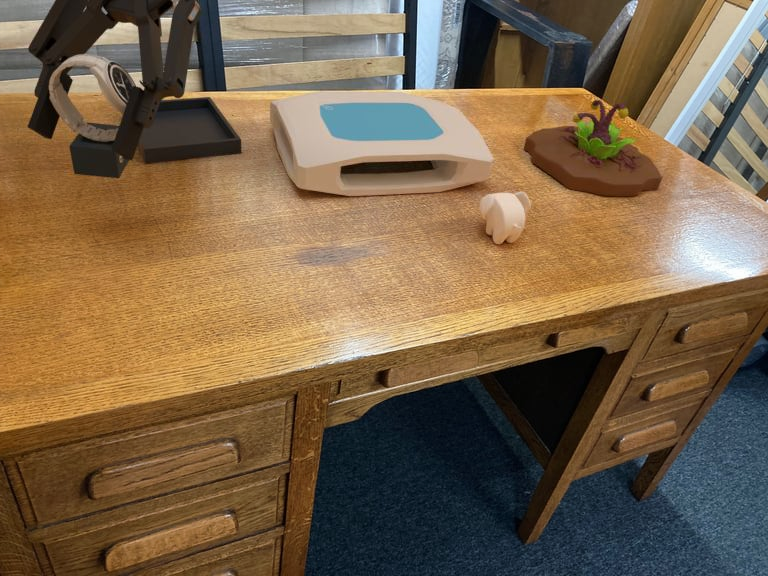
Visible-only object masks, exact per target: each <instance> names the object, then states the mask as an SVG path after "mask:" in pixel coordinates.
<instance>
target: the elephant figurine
mask: <svg viewBox="0 0 768 576" xmlns="http://www.w3.org/2000/svg"><path fill="white" fill-rule="evenodd" d="M531 208H532V203H531V200H530V198H529V195H528V194H526V192H524V191H522V190H521V191H517V192H516V193H511V192H494V193H487V194H486V195H484V196H483V197H482V198H481V199H480V202H479V207H478V209H479V213H480V216H481V217H482V219H485V218H486V224H485V225H486V226H485V233H486V235H488V236H492V241H493V243H494V244H496V245H501V244H503V243H504V241H506V242H507V243H508V244H513V243H515V242H516V241H517V240H518V239H519V237H520V236H521V234H522V233H523V231H524V228H525V226H526V225H525V224H526V215H527V214H528V213H529V212H530V211H531Z"/></svg>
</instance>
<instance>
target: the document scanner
mask: <svg viewBox="0 0 768 576" xmlns="http://www.w3.org/2000/svg"><path fill="white" fill-rule="evenodd" d="M269 103H270V104H269V123H270V124H271V127H272V130H273V133H274V137H275V141H276V142H275V143H276V149H277V152H278V154H279V156H280V159H281V161H282V164H283V166H284V170H285V172H286V174H287V176H288V177H289V178H290V180H291V181H292V183H294V185H295V186H296V187H297V188H299V189H301V190H306V191H312V192H320V193H328V194H334V195H341V196H347V197H358V196H360V197H362V196H383V195H386V196H387V195H401V194H403V195H405V194H424V193H427V194H428V193H441V192H446V191H449V190H454V189H458V188H461V187H466V186H469V185H474V184H478V183H481V182H485V181H488V180H489V179H490V176H491V174H492V169H493V165H494V162H495V158H494V156H493V155H492V152H491V151H490V149H489V147H488V145H487V143H486V141H485V139H484V138H483V137H484V136H483V135H482V134H481V132H480V130H479V129H477V127H475V125H473V124H472V122H471V121H470V120H469V119H468V118H467V117H466V116H465V115H464V114H463V113H462V112H461V111H460V110H459V109H458V107H455V106H452V105H450V104H447V103H445V102H443V101H440V100H437V99H434V98H429V97H425V96H421V95H416V94H412V93H409V92H403V91H345V90H344V91H342V90H341V91H339V90H337V91H336V90H335V91H334V90H333V91H328V90H323V91H322V90H321V91H319V90H318V91H313V92H308V93H303V94H297V95H294V96H293V95H292V96H289V97H285V98H279V99H274V100H272V101H270V102H269ZM413 161H414V162H418V161H419V162H420V161H430V162H431V164H432V167H433V168H432V169H426V170H425V169H424V170H417V171H416V170H415V171H406V172H386V173H385V172H383V173H343V172H342V173H341V171H342V167H344V166H349V165H350V166H351V165H357V164H362V163H382V162H383V163H385V162H413Z"/></svg>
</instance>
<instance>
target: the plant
mask: <svg viewBox="0 0 768 576" xmlns="http://www.w3.org/2000/svg"><path fill="white" fill-rule="evenodd" d="M590 108H591V110H597V109H600V110H599V112H600V115H599V119H597V117H596V116H595V114H593V113H589V112H580V113H579V112H578V113H576V114H574V115H573V117H572V122H573V123H576V125H577V126H574V125H563V126H561V125H560V126H557V127H551V128H550V127H549V128H541V129H539V130H535V131H533V132H532V133H531V134H530V135H528V136H526V139H525V141H524V145H523V150H524V149H525V150H524V151H525V152H527V153H529V154H530V155H531V158H530V161H531V163H532V164H533V165H534V166H537V167H538V168H539V169H541V170H542V171H544V172H545V173H546V174H549V175H550V176H551V177H552V178H554V179H555V180H557V182H559V183H561V184H562V185H563V186H565V187H566V188H567V189H569V190H572V191H578V192H585V193H590V194H594V195H598V196H603V197H636V196H638V195H639V194H640V193H641V192H645V191H644V190H646V191H650V190H649V189H657V188H658V189H659V188H660V185H661V182H662V181H663V176H662V175H661V173H660V170H659V169H658V167H657V166H656V164H655V163H654V161H653V160H652V159H651V157H649V156H648V155H646V154H644V153H642V152H640V151H639V148H638V147H637V146H634V145H633V144H632V143H635V142H636V138H631V137H627V138H622V137H619V135H620V134H621V132H622V128H620V127H617V128H616V125H615V123H613V122H612V121H613V116H614V115H615V114H616V112H618V113H617V114H618V116H619V118H621V119H624V120H625V119H626V118H627V117H628V116H629V109H628V107H627V106H626V105H625V104H623V103H621V102H620V103H616V104H614V105H613V106H612V107H611V109H609V110H608V112H607V113H606V107H605V105H604V103H603V102H602V100H600V99H595V100H593V101H592V102H591V103H590ZM617 110H618V111H617ZM584 118H590V121H589V125H587V123H586V122H584V120H583V119H584ZM658 189H657V190H658Z"/></svg>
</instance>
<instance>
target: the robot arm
mask: <svg viewBox="0 0 768 576" xmlns="http://www.w3.org/2000/svg"><path fill="white" fill-rule="evenodd" d="M103 9H104V11H103ZM171 9H172V12H173V13H172V17H171V22H170V28H169V33H168V34H169V35H168V40H167V41H168V42H167V47H166V54H165V61H163V50H162V40H161V39H162V36H163V31H162V30H163V29H162V22H161V21H162V19H161V17H162V16H163V15H165V14H166V13H167V12H169V11H170V10H171ZM105 12H106V13H105ZM202 14H203V9H202V8H201V7H200V4H199V3H198V2H197V0H54V2H53V4H52V6H51V8H50V9H49V11H48V13H47V14H46V15H45V18H44V19H43V21H42V23H41V25H40V26H39V28H38V30H37V32H36V33H35V35H34V37H33V38H32V40H31V41H30V44H29V45H28V47H27V49H28V50H27V51H28V52H29V54H31V55H32V56H33V57H35V58H36V59H37V60H39V61H40V62H41V63H42V69H41V71H40V74H39V76H38V80H37V82H36V85H35V86H34V87H35V88H34V91H33V92H34V93H33V94H34V96H35V97H36V98H37V100H36V102H35V105H34V107H33V110H32V114H31V116H30V119H29V121H28V124H27V128H28V129H30V130H32V131H33V132H35V133H36V134H38V135H39V136H40V137H42V138H44V139H49V140H52V138H53V137H54V134H55V130H56V127H57V125H58V122H59V121H60V118H61V117H60V116H59V114H58V113H57V111H56V109H55V108H54V106H53V104H52V102H51V100H50V91H49V84H50V83H49V81H50V78H51V76H52V74H53V72H54V71H55V70H56V69H57V68H58V67H59V66H60V65H61V64H62V63H63V62H65V61H66V60H67V59H68V58H70V57H73V56H75V55H79V54H81V55H82V54H87V53H88V52H89V50H90V49H91V48H92V47H93V46H94V44H95V43H96V42H97V41H98V40H99V39H100V38H101V37H102V36H103V35H104V33H105V32H106V31H107V30H112V29H114V28H115V27H116V26H117V25H118V23H121V24H132V25H133V26H136V27H137V32H138V33H137V34H138V43H139V44H138V46H139V57H140V65H141V78H142V79H141V80H139V84H140V85H141V86H142V87H143V89H142V87H140V86H137V85H136V86H133V88H132V91H131V94H130V97H129V100H128V103H127V106H126V108H125V111H124V114H123V115H122V118H121V121H120V123H119V125H118V126H119V128H118V131H117V134H116V137H115V140H114V143H113V146H112V148H111V149H112V150H113V151H115V152H116V153H118V154H119V155H120V156H122V157H123V158H125V159H128V160H129V161H131V162H132V161H134V160H133V159H134V157H135V155H136V150H137V149H138V147H137V145H138V142H139V139H140V137H141V134H142V131H143V128H148V129H149V128H150V127H151V126H152V125H153V122H154V119H155V116H156V113H157V110H158V107H159V104H160V102H161V100H164V99H165V98H171V97H173V98H174V99H182V97H184V95H185V90H186V85H187V77H188V70H189V64H190V57H191V51H192V43H193V38H194V37H193V36H194V32H195V31H194V30H195V27H196V26H197V24H198V22H199V20H200V18H201V16H202ZM73 68H74V66H70V67H66V68H65V69H63V70H62V72H61V75H60V77H59V78H60V83H62V86H63V89H64V90H65V91H66V93H67V95H68V96H69V92H70V89H71V87H72V84H73V82H74V79H73V78H72V77H71V76H70V75H69V74H68V73H69V72H70V71H71V70H72V69H73Z"/></svg>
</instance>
